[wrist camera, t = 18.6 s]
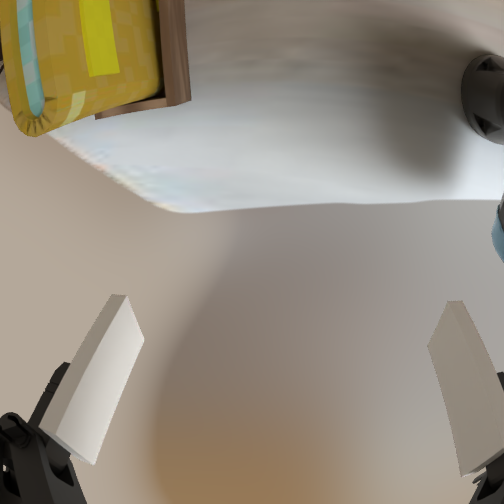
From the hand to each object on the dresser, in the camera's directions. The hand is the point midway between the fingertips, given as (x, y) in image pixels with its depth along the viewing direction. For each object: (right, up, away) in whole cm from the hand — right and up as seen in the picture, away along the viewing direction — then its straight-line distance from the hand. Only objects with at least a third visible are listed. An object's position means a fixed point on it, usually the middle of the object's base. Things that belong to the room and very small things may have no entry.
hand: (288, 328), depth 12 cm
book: (-17, +33, +24) cm, 44 cm away
